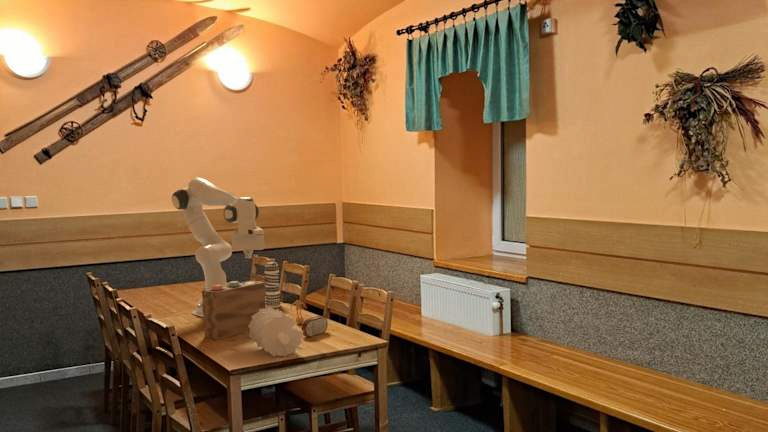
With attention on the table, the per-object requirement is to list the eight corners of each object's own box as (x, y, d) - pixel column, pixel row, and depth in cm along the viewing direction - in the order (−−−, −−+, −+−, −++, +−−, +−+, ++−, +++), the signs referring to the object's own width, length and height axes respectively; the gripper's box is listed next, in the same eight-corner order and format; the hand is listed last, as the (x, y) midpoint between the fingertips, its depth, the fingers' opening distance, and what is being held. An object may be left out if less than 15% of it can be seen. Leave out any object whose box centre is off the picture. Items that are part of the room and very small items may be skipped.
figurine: (293, 325, 339) (292, 302, 338) (289, 323, 344) (288, 299, 344) (309, 323, 342) (308, 300, 342) (305, 321, 348) (304, 298, 347)
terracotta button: (209, 291, 322) (209, 286, 322) (218, 289, 326) (218, 284, 326) (216, 292, 319) (216, 286, 319) (225, 290, 323) (224, 285, 323)
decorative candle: (278, 308, 384) (276, 263, 382) (262, 307, 386) (260, 263, 384) (283, 304, 393) (281, 261, 391) (268, 304, 395) (266, 261, 393)
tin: (324, 331, 326) (323, 313, 325) (329, 332, 324) (328, 314, 323) (301, 338, 314) (300, 320, 314) (306, 339, 312) (305, 320, 312)
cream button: (242, 288, 338) (242, 283, 338) (250, 286, 342) (250, 281, 342) (249, 289, 335) (249, 284, 335) (257, 287, 339) (257, 282, 339)
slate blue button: (226, 287, 330) (226, 282, 330) (234, 286, 334) (234, 281, 333) (233, 288, 327) (233, 283, 326) (241, 286, 331) (241, 281, 330)
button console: (204, 336, 323) (202, 290, 321) (252, 323, 347) (250, 280, 345) (218, 339, 317) (215, 292, 315) (266, 326, 341) (264, 282, 339)
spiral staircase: (275, 369, 280) (257, 352, 302) (311, 345, 287) (290, 330, 309) (255, 333, 275) (238, 318, 297) (292, 309, 281) (273, 296, 303)
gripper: (228, 230, 340) (229, 257, 341) (256, 231, 327) (257, 260, 328) (238, 228, 345) (239, 256, 346) (266, 230, 332) (267, 258, 333)
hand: (248, 258), depth 337 cm, fingers closed
